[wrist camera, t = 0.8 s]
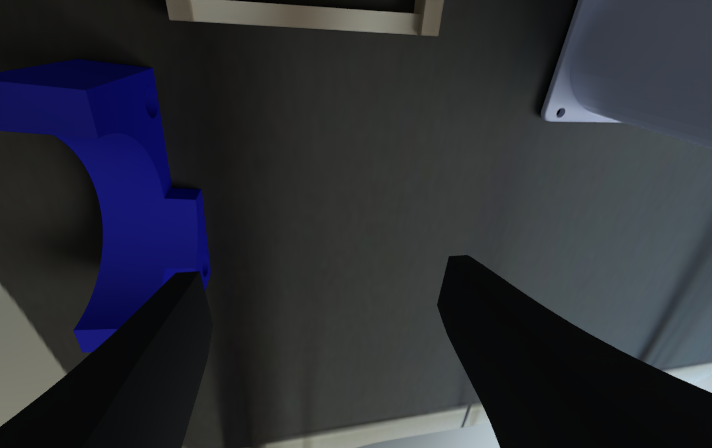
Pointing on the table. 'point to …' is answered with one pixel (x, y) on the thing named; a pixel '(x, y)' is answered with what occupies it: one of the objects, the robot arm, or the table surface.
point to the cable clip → (115, 178)
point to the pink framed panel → (311, 16)
